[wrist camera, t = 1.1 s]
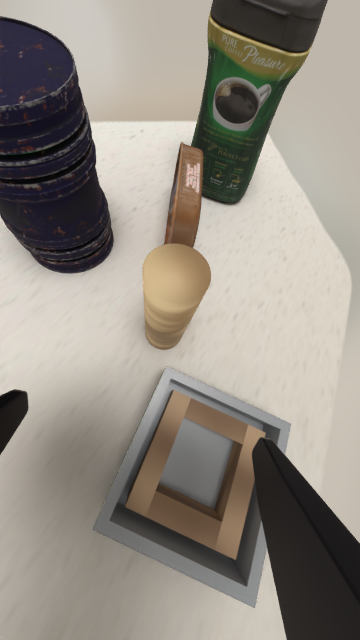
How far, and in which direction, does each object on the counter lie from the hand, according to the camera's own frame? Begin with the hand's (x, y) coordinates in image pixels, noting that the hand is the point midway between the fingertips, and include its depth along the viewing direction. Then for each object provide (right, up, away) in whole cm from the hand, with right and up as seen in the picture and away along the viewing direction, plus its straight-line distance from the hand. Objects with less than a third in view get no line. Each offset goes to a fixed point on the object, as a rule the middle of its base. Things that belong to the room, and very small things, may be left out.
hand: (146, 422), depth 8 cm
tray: (+3, -9, +12) cm, 15 cm away
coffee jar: (+7, +25, +25) cm, 36 cm away
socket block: (+3, -9, +12) cm, 15 cm away
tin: (+1, +15, +20) cm, 26 cm away
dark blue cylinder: (-12, +14, +18) cm, 26 cm away
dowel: (0, +3, +15) cm, 15 cm away
